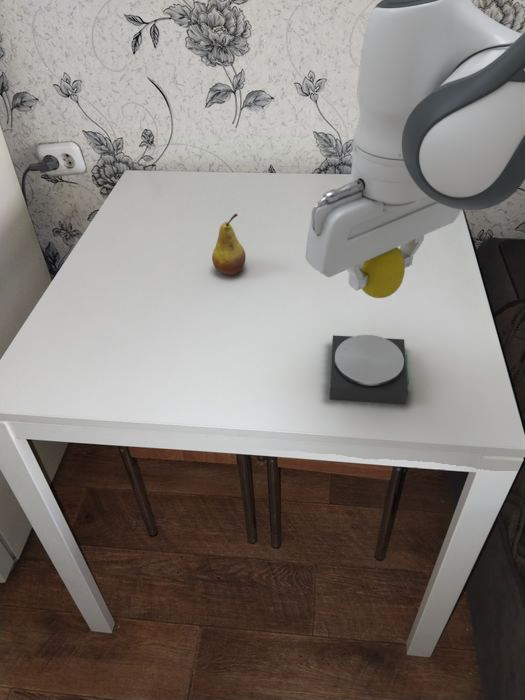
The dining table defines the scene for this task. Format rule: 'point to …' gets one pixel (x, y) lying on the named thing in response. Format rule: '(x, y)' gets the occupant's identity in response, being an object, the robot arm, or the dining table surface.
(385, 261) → the lemon
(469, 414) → the dining table surface
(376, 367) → the scale pan
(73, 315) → the dining table surface
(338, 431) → the dining table surface
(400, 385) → the scale
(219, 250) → the fruit
